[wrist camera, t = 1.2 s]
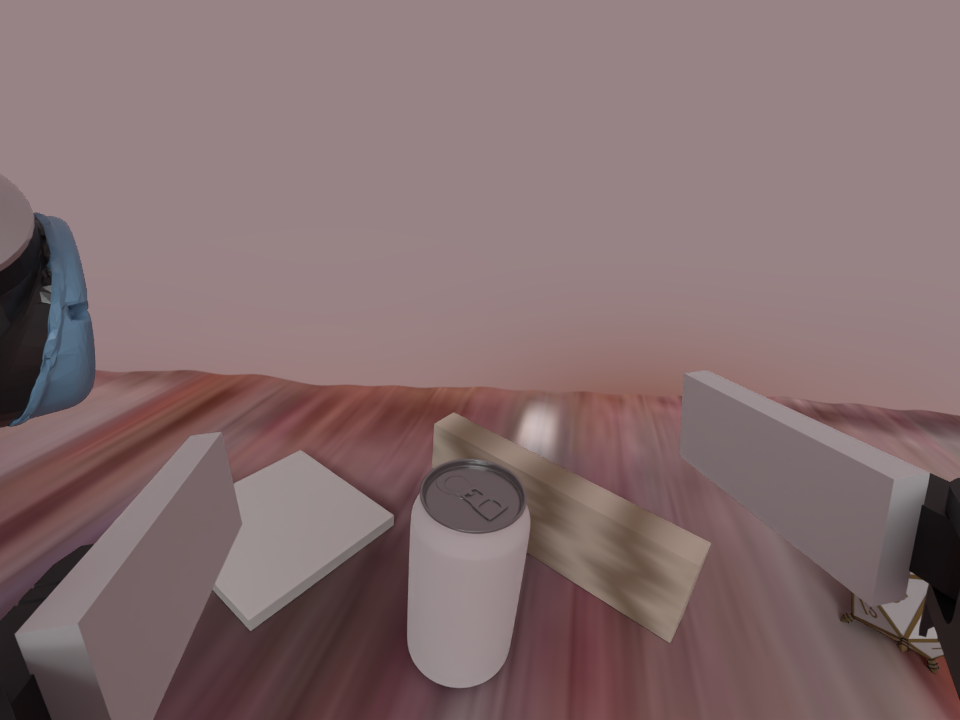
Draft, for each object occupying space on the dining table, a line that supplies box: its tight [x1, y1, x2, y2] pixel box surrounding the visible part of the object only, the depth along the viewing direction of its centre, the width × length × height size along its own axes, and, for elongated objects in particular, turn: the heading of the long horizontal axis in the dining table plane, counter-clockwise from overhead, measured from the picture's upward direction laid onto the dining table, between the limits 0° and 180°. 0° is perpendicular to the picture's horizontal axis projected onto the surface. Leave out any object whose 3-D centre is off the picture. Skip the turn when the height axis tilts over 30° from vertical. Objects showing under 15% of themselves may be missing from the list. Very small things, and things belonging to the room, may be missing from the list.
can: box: [407, 459, 530, 688], centre depth 29 cm, size 6×6×12 cm
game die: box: [841, 572, 944, 674], centre depth 33 cm, size 9×8×10 cm
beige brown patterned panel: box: [432, 412, 711, 643], centre depth 38 cm, size 21×2×7 cm, turn 52°
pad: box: [212, 450, 394, 631], centre depth 38 cm, size 12×12×1 cm
